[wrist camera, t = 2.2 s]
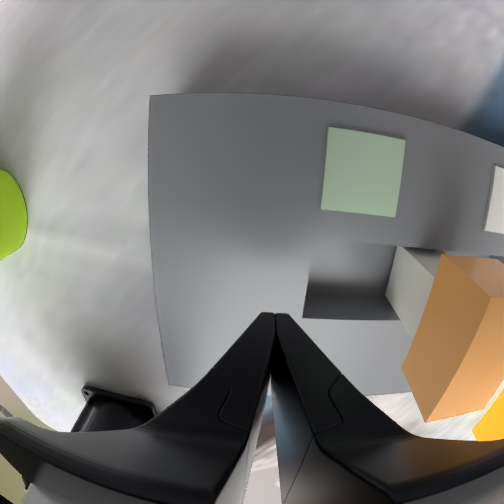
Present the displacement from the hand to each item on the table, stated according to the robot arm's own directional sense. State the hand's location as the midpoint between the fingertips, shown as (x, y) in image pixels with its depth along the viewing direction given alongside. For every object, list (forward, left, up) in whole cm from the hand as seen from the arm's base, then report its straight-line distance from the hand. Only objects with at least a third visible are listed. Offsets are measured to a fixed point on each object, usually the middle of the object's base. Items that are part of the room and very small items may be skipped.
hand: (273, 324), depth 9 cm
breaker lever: (+7, 0, -5) cm, 8 cm away
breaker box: (+7, 0, -6) cm, 9 cm away
